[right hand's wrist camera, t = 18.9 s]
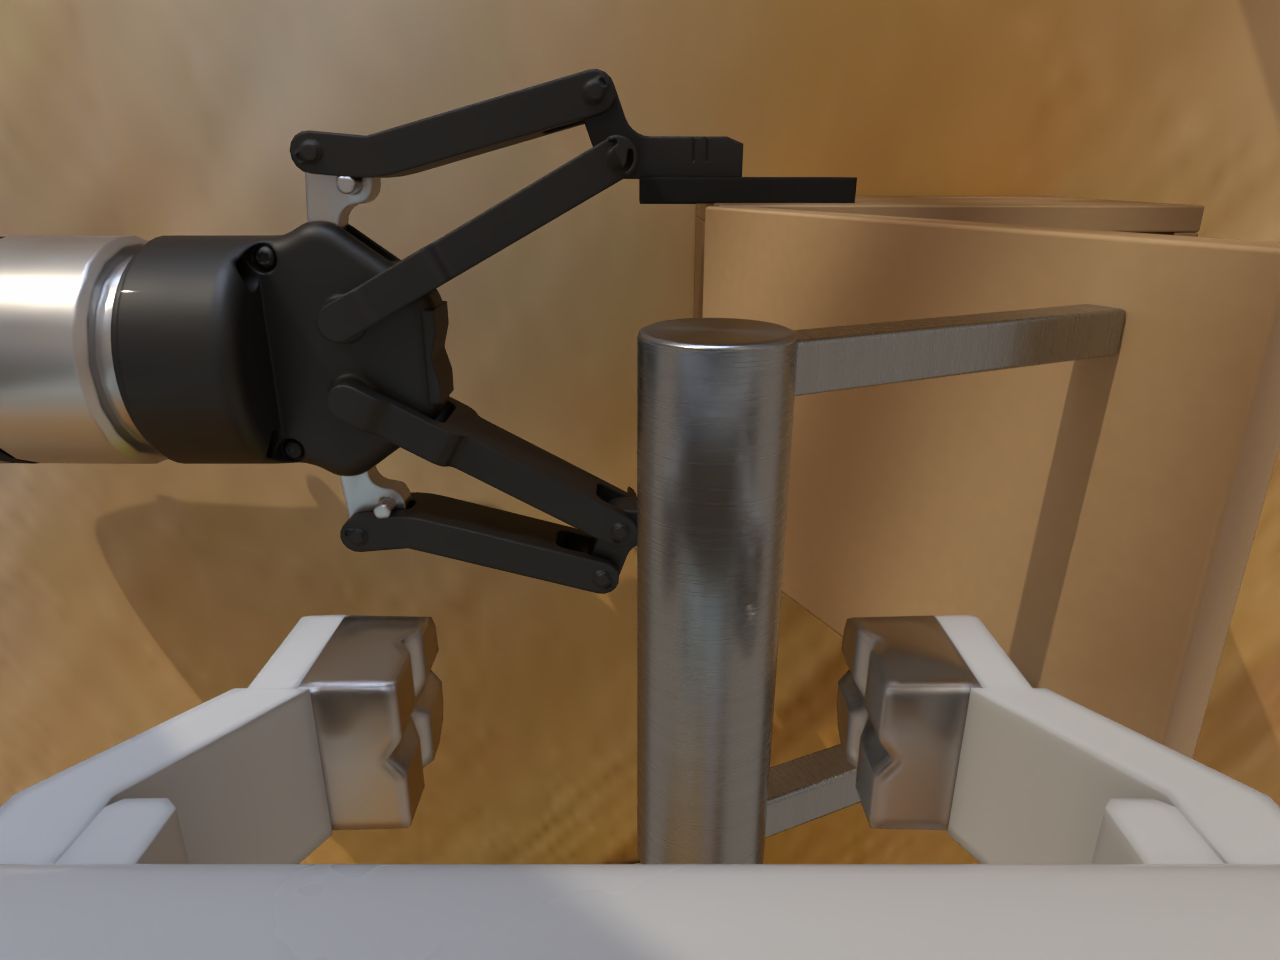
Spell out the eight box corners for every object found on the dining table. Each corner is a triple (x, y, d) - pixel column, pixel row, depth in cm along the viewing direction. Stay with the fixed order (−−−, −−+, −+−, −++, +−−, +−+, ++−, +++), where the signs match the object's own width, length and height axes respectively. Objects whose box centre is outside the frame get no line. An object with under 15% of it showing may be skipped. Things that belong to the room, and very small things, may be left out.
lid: (1338, 245, 11) (760, 280, 7) (1173, 836, 14) (721, 1056, 11) (736, 205, 23) (417, 211, 20) (723, 523, 27) (449, 576, 23)
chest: (1049, 196, 33) (1205, 206, 24) (1011, 432, 36) (1135, 518, 27) (695, 195, 33) (718, 205, 24) (690, 431, 36) (708, 518, 27)
